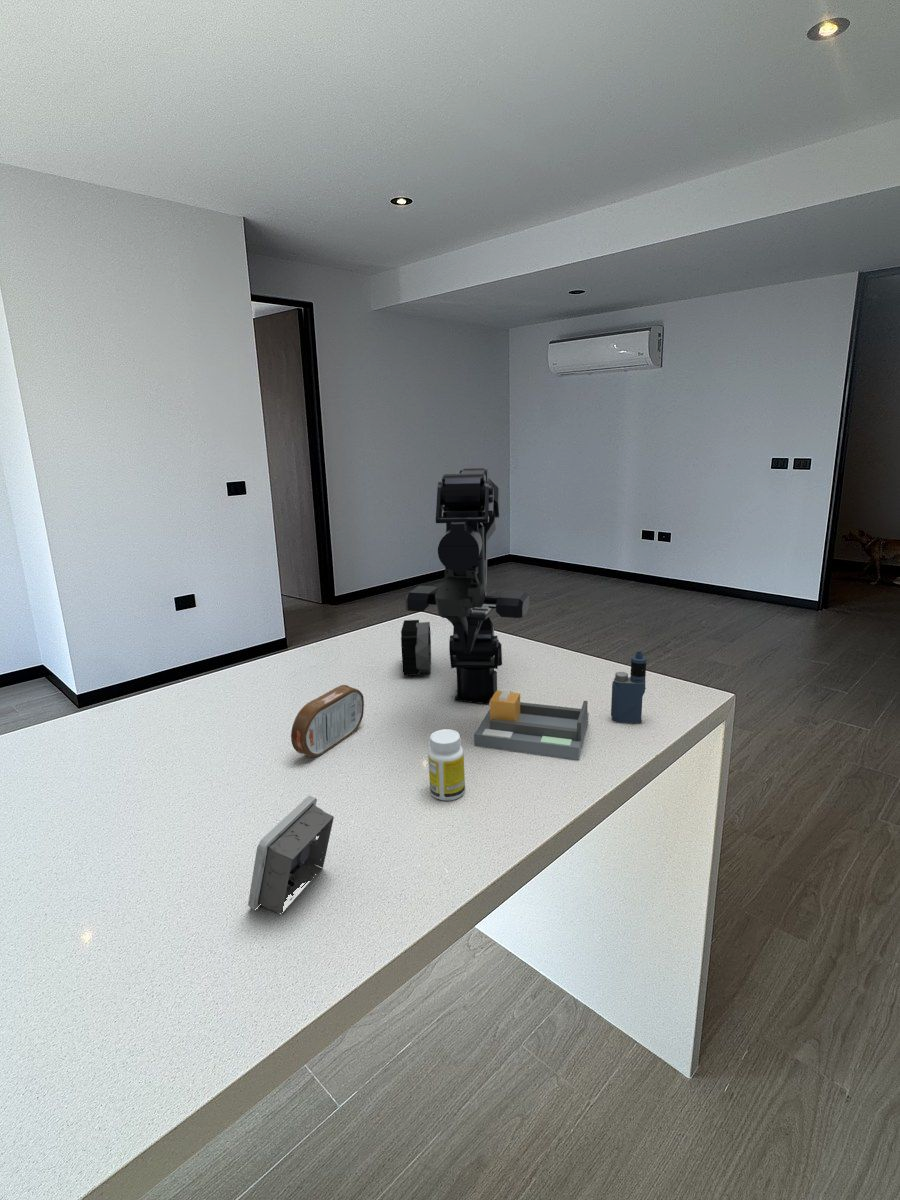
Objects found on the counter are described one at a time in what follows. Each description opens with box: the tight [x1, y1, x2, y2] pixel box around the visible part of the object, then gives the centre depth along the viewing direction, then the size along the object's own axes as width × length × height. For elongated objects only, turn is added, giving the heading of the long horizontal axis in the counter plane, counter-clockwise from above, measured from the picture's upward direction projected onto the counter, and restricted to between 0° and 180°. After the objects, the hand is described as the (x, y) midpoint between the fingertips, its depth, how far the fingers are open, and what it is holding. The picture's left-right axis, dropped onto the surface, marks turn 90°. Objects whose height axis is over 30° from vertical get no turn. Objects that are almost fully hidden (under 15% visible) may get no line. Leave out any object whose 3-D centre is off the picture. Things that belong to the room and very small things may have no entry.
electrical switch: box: [247, 795, 335, 915], centre depth 67 cm, size 9×5×9 cm, turn 158°
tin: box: [290, 684, 365, 758], centre depth 99 cm, size 15×3×8 cm, turn 150°
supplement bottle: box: [427, 728, 466, 801], centre depth 85 cm, size 5×5×8 cm
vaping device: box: [610, 650, 647, 724], centre depth 103 cm, size 3×5×12 cm, turn 79°
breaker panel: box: [473, 700, 590, 761], centre depth 100 cm, size 16×12×5 cm
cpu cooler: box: [400, 619, 432, 676], centre depth 127 cm, size 10×6×10 cm, turn 179°
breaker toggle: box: [489, 688, 521, 722], centre depth 101 cm, size 4×4×5 cm
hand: (468, 652), depth 100 cm, fingers closed
